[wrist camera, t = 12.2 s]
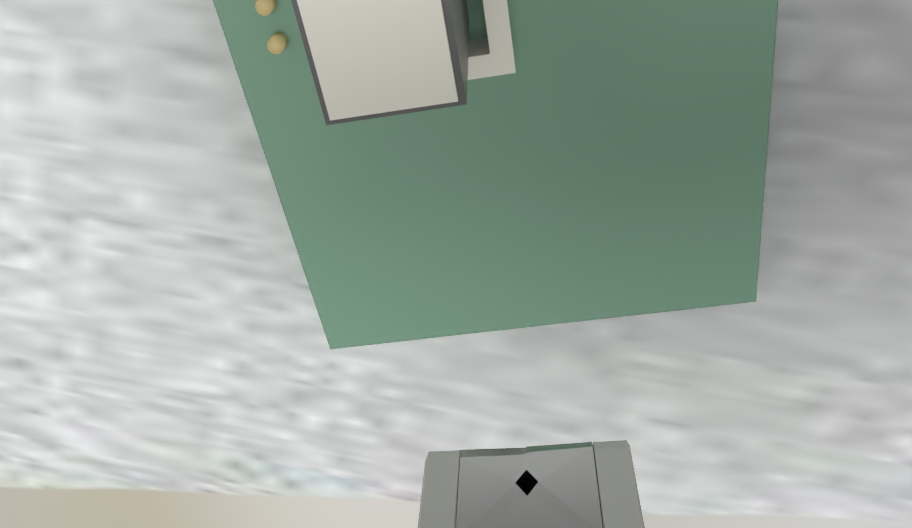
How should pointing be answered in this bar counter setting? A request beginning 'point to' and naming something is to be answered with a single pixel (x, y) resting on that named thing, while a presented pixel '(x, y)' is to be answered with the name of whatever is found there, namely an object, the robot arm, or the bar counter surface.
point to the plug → (385, 55)
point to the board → (527, 168)
